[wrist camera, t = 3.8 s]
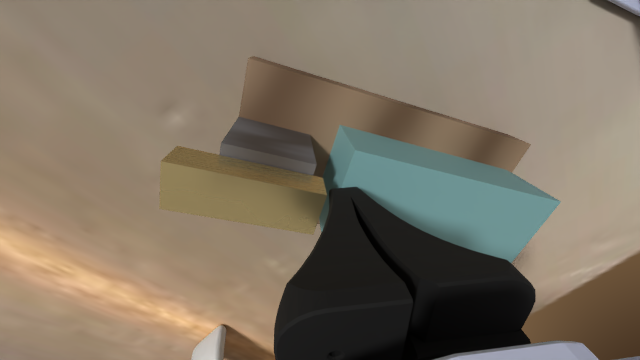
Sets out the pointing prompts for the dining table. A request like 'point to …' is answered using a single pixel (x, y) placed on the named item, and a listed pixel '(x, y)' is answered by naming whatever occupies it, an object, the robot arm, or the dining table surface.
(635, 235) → the dining table surface
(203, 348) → the spoon rest
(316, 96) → the base
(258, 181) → the tan rectangular bar
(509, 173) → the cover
